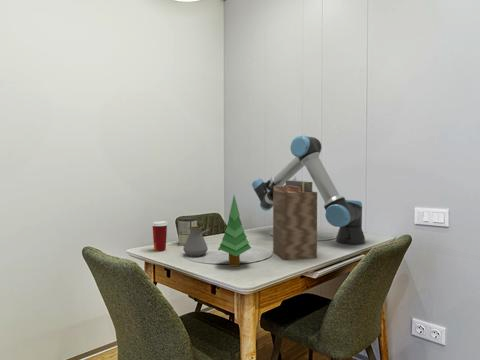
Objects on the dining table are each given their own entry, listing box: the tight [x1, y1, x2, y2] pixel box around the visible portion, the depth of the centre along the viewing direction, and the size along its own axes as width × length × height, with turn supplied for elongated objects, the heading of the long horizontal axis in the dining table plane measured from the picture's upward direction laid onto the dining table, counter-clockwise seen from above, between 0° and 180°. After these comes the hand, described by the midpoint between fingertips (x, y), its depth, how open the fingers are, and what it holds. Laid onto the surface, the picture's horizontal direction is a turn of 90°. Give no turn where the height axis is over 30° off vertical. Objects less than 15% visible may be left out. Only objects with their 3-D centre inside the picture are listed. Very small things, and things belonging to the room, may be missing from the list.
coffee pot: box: [182, 220, 226, 257], centre depth 162 cm, size 21×12×15 cm, turn 119°
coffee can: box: [177, 216, 198, 247], centre depth 182 cm, size 10×10×14 cm
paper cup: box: [151, 220, 168, 252], centre depth 168 cm, size 8×8×14 cm
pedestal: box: [272, 184, 318, 261], centre depth 158 cm, size 16×14×32 cm
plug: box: [285, 179, 313, 192], centre depth 163 cm, size 4×22×4 cm, turn 14°
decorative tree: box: [217, 195, 252, 267], centre depth 142 cm, size 14×16×30 cm
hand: (284, 178), depth 179 cm, fingers open, 13 cm apart
